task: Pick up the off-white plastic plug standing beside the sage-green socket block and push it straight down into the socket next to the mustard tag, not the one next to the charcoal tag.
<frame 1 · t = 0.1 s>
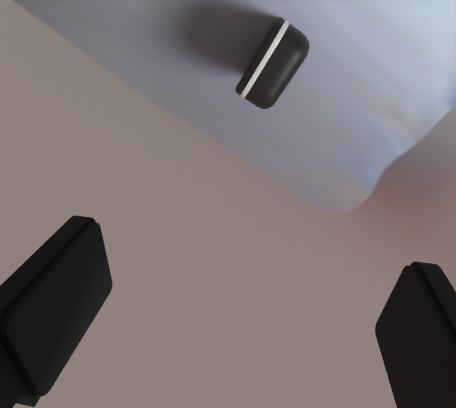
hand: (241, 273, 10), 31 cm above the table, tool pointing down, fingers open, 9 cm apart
battery charger: (275, 55, 34), on the table
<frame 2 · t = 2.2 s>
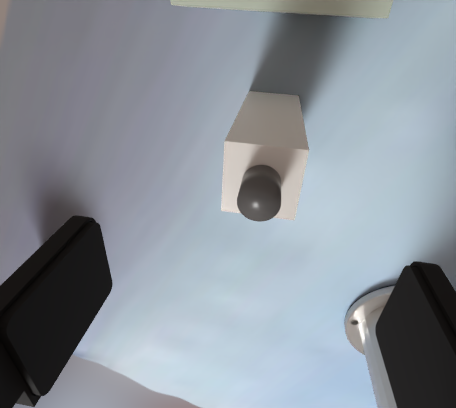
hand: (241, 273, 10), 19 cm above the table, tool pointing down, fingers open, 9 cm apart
plug: (270, 117, 26), on the table
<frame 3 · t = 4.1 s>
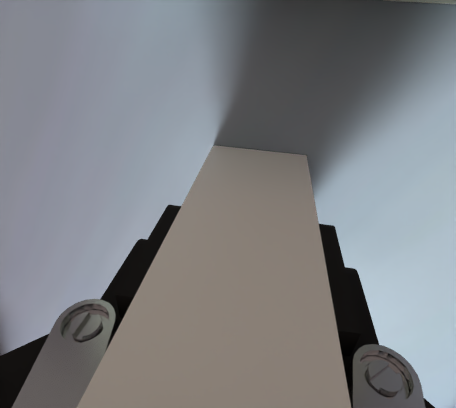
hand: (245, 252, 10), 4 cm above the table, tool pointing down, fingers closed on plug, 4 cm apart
plug: (254, 190, 14), on the table, touching gripper
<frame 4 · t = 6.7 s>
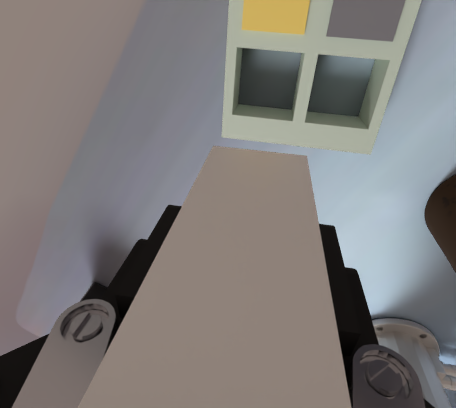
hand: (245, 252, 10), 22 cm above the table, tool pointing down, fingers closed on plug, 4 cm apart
socket block: (306, 59, 27), on the table
plug: (254, 191, 14), point 18 cm above the table, touching gripper
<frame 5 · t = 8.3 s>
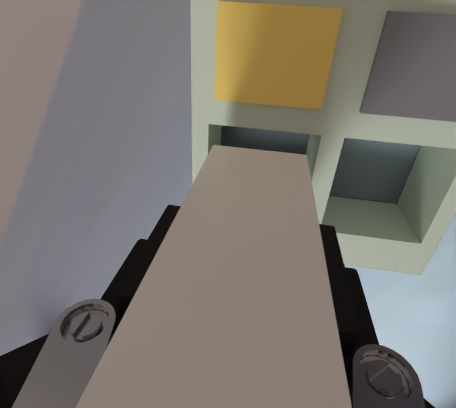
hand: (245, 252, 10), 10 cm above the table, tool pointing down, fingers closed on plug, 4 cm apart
socket block: (320, 126, 17), on the table
plug: (254, 190, 14), point 5 cm above the table, touching gripper
when the fingers open (5 cm above the table, at t = 9.6 s): plug stays where it is, resting in socket block.
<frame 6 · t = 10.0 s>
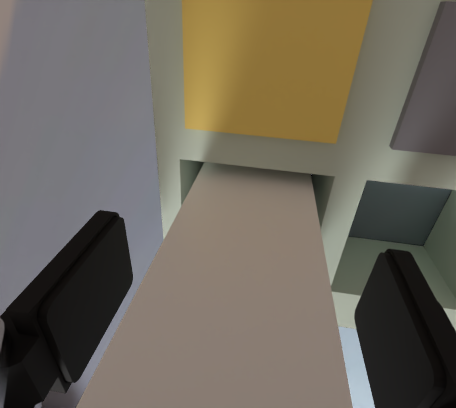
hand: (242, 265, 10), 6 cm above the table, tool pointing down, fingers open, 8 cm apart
socket block: (328, 153, 14), on the table
plug: (256, 180, 15), resting in socket block
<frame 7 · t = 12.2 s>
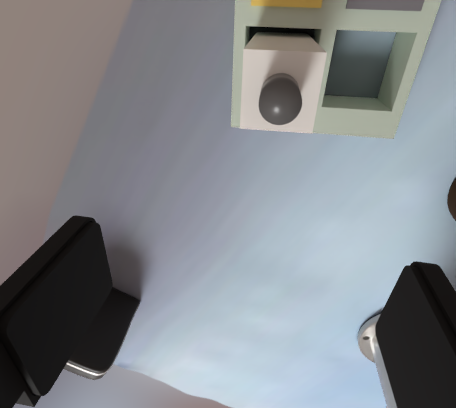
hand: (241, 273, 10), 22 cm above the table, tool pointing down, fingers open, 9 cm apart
socket block: (320, 37, 24), on the table
battery charger: (118, 296, 47), on the table
plug: (278, 59, 26), resting in socket block
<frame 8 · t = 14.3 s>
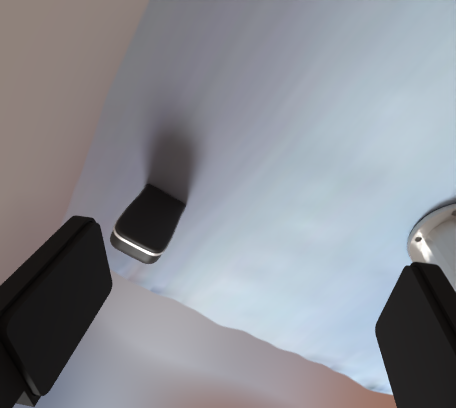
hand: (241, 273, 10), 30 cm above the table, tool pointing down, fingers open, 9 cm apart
battery charger: (163, 201, 46), on the table
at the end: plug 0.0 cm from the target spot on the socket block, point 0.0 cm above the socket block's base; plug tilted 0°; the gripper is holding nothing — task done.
